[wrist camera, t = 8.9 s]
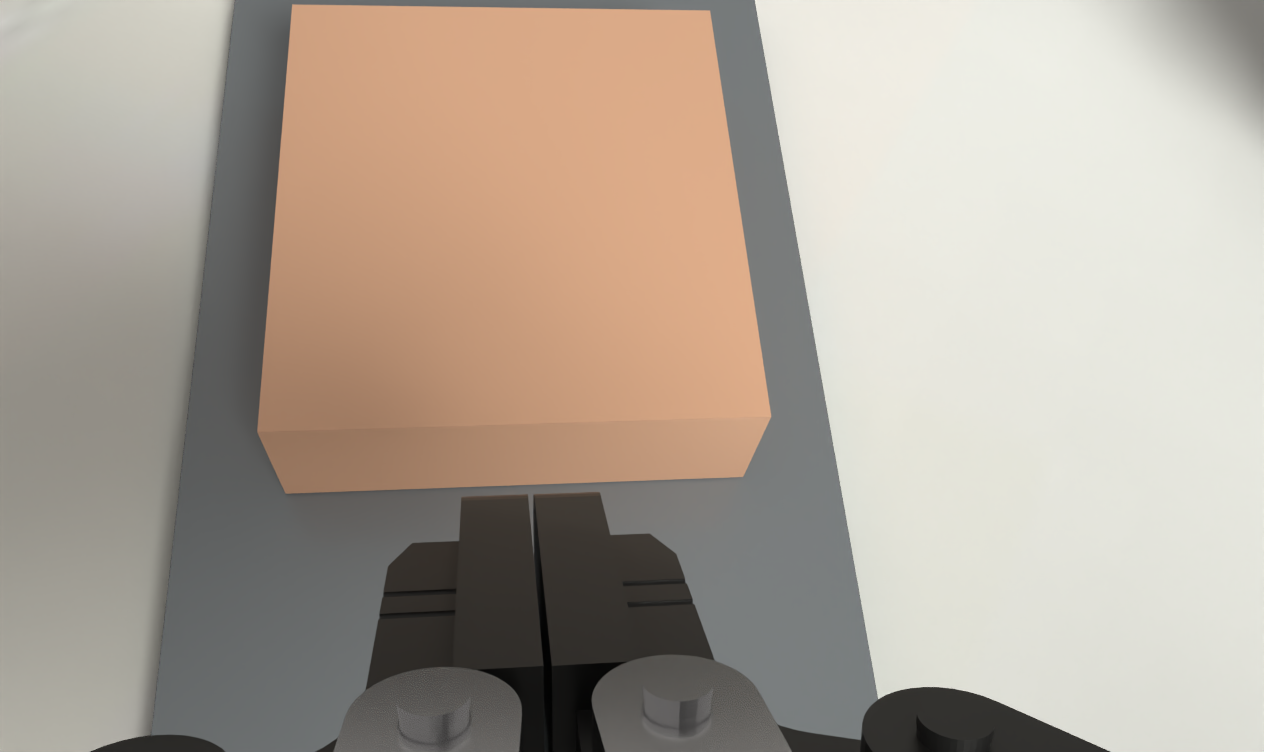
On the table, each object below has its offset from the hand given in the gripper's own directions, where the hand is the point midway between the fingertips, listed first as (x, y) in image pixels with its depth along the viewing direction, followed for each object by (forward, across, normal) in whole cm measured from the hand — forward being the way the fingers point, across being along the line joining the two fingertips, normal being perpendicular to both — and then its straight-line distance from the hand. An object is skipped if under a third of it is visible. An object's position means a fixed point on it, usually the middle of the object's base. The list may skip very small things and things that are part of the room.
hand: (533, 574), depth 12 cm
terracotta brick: (+9, 0, -2) cm, 9 cm away
